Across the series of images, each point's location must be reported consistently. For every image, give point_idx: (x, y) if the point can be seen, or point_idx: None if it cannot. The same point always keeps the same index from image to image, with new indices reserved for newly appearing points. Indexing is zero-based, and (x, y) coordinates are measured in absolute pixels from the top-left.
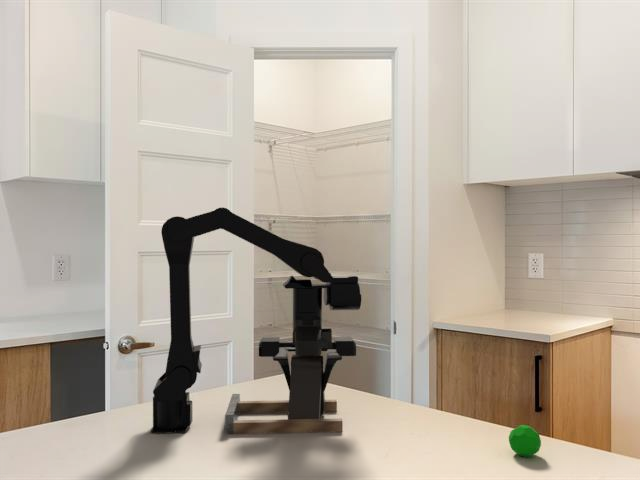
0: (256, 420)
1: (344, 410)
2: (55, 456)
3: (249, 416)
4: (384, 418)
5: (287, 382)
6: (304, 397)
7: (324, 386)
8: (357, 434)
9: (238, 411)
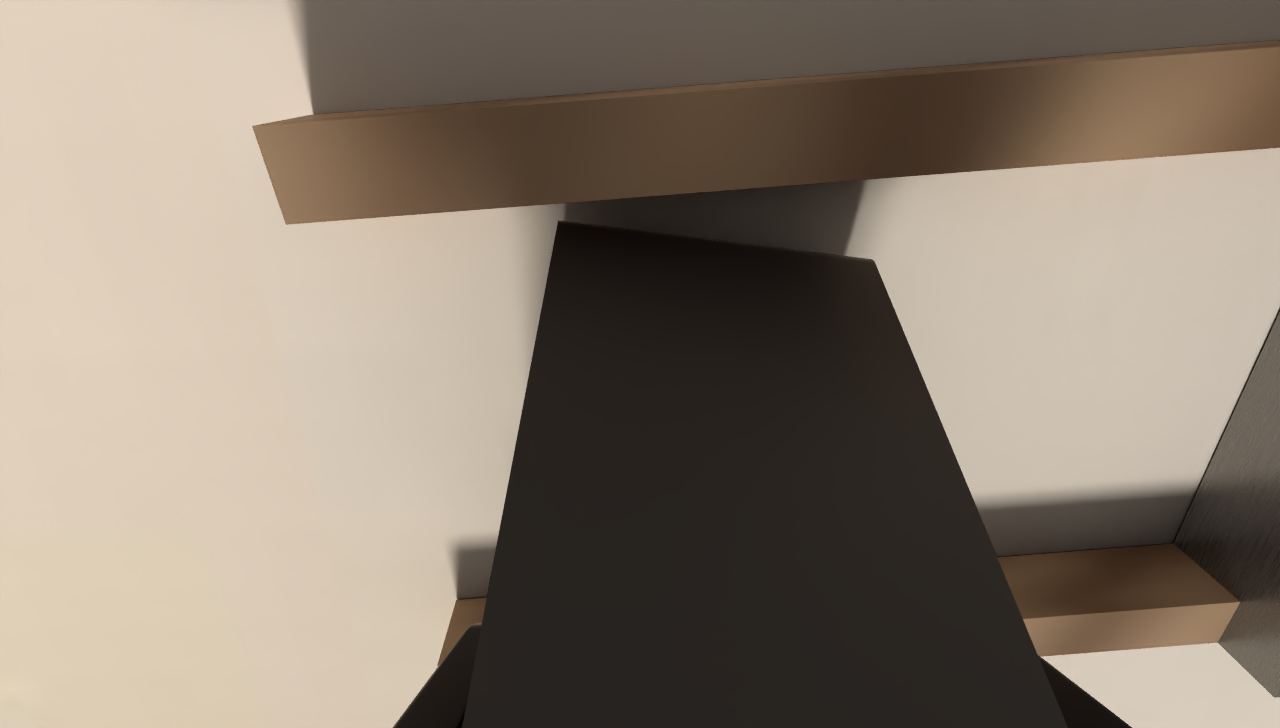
0: (1264, 126)
1: (403, 617)
2: None
3: (1117, 483)
4: (33, 477)
5: (1068, 683)
6: (745, 438)
7: (458, 669)
8: (132, 32)
9: (1226, 513)
